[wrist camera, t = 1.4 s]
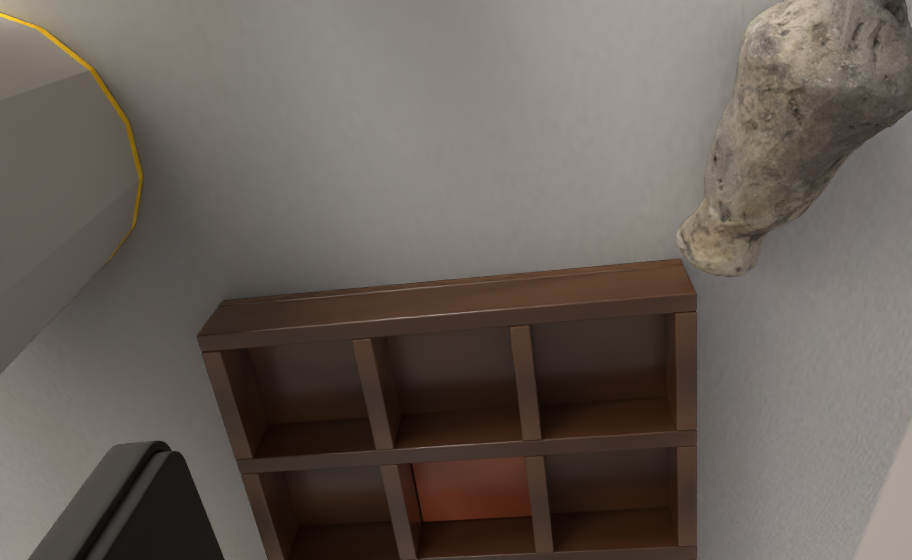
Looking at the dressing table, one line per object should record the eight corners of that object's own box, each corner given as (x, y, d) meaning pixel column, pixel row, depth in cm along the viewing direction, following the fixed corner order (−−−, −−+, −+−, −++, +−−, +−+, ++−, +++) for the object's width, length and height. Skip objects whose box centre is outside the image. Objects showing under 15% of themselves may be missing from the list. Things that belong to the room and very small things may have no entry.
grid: (222, 299, 33) (195, 335, 30) (680, 258, 31) (697, 292, 28) (316, 617, 41) (302, 668, 39) (684, 603, 39) (697, 657, 36)
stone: (717, 262, 32) (936, 279, 26) (640, 283, 28) (874, 308, 22) (717, 11, 30) (952, -32, 24) (635, 1, 26) (887, -53, 21)
